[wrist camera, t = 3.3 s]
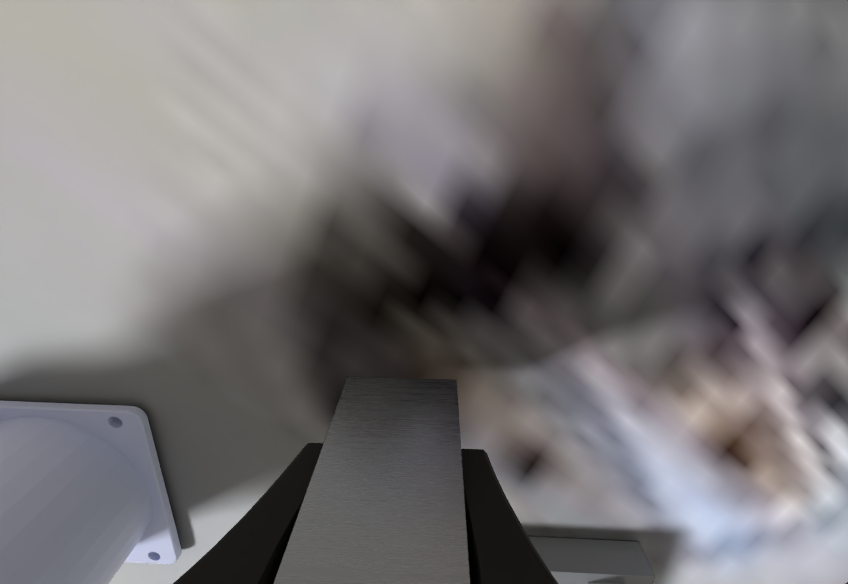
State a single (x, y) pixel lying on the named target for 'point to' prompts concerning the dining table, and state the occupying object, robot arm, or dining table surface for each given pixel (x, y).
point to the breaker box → (594, 561)
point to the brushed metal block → (385, 490)
